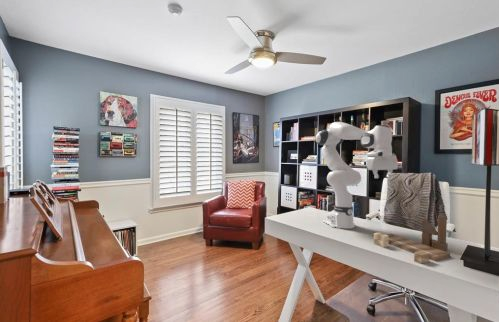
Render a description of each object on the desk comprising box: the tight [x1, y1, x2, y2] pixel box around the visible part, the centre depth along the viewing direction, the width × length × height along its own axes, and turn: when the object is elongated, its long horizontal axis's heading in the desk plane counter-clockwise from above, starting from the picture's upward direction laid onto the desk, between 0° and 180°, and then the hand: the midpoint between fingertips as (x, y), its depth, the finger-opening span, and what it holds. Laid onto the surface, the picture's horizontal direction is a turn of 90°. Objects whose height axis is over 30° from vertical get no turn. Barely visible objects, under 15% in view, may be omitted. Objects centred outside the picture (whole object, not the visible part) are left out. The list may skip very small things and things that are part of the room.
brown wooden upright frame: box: [421, 214, 449, 252], centre depth 132 cm, size 4×11×18 cm, turn 29°
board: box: [385, 233, 452, 262], centre depth 132 cm, size 32×12×2 cm, turn 22°
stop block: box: [413, 251, 430, 265], centre depth 115 cm, size 3×6×4 cm, turn 112°
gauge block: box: [373, 232, 389, 249], centre depth 135 cm, size 6×4×6 cm, turn 22°
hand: (382, 177), depth 139 cm, fingers open, 8 cm apart
